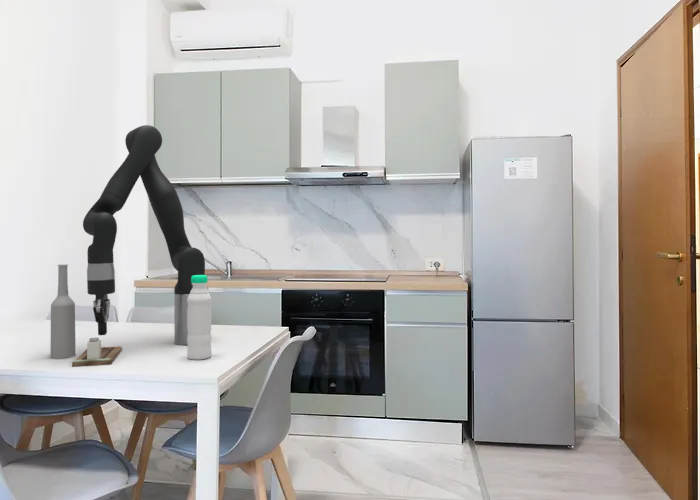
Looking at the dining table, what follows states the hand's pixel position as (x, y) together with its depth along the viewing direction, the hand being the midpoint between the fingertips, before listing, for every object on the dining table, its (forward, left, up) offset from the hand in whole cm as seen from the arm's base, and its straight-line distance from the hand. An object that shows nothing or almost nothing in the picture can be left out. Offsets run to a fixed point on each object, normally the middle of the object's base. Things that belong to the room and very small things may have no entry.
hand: (102, 334), depth 148 cm
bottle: (+12, -3, -7) cm, 14 cm away
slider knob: (+1, +9, -5) cm, 10 cm away
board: (+1, +3, -7) cm, 7 cm away
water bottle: (-28, +10, -7) cm, 31 cm away
